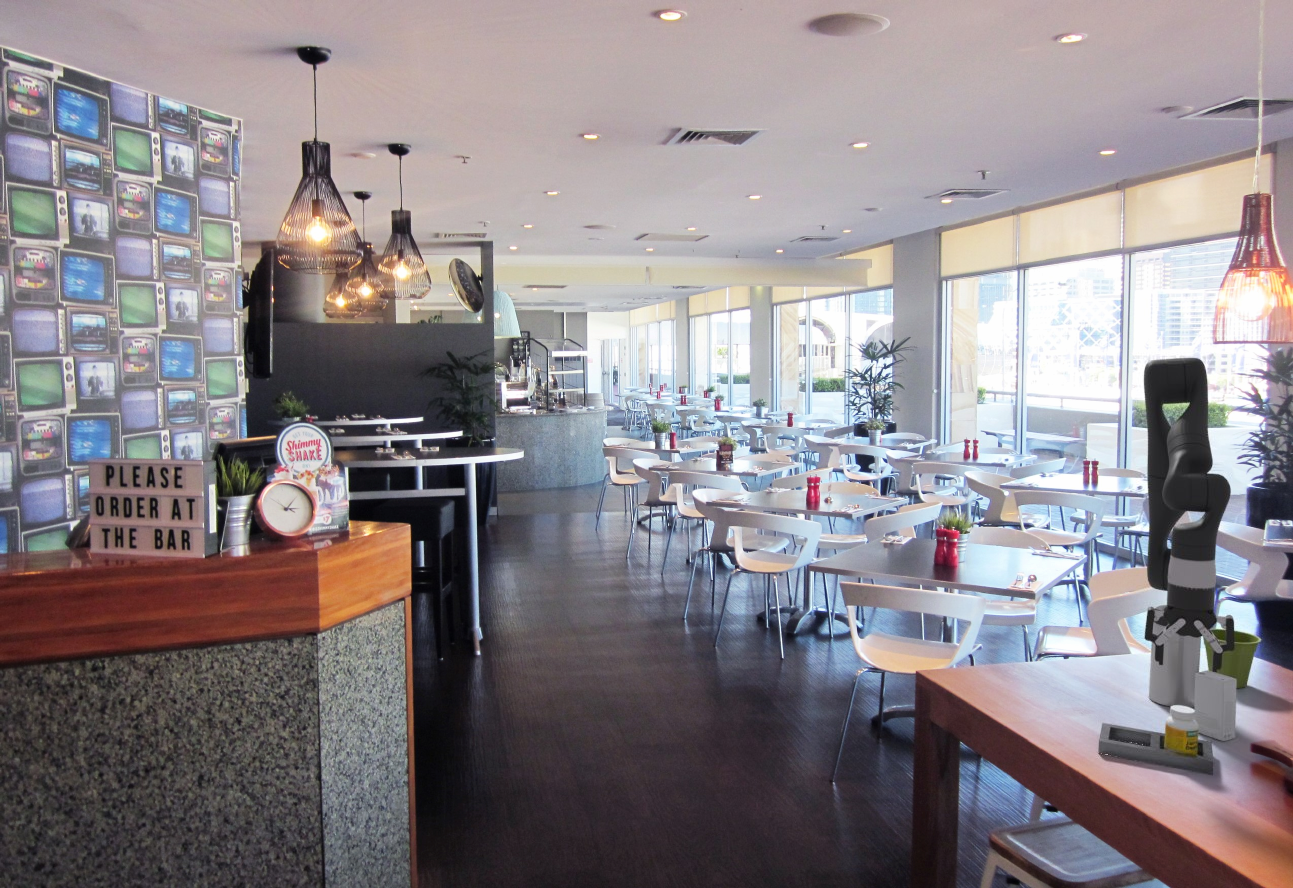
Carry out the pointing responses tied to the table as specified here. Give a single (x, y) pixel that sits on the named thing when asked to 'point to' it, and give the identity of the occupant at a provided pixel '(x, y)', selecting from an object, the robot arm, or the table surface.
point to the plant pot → (1235, 655)
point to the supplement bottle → (1181, 730)
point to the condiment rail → (1153, 749)
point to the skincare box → (1215, 705)
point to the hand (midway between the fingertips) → (1187, 667)
